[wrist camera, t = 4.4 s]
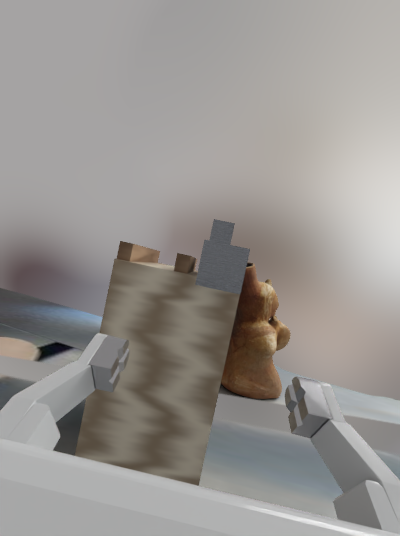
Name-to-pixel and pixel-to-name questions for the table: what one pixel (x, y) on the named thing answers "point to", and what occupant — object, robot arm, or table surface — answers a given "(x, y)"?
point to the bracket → (222, 260)
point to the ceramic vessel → (255, 341)
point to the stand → (159, 367)
